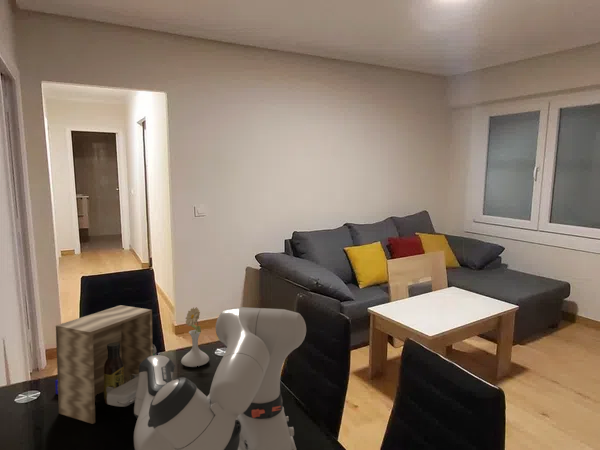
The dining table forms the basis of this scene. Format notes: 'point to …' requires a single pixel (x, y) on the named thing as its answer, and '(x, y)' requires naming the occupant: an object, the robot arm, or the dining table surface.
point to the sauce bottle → (113, 368)
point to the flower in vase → (194, 342)
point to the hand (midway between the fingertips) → (119, 382)
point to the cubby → (98, 354)
